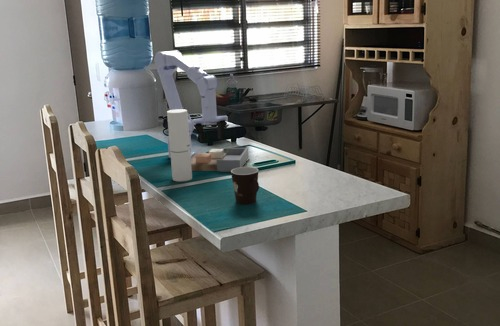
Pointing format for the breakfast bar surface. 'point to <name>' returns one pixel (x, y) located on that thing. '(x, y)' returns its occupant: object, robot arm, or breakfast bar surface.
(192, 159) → the walnut board
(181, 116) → the cylindrical container
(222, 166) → the box
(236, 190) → the coffee mug
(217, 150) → the cream tile
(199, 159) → the terracotta tile
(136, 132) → the breakfast bar surface
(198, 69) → the robot arm
